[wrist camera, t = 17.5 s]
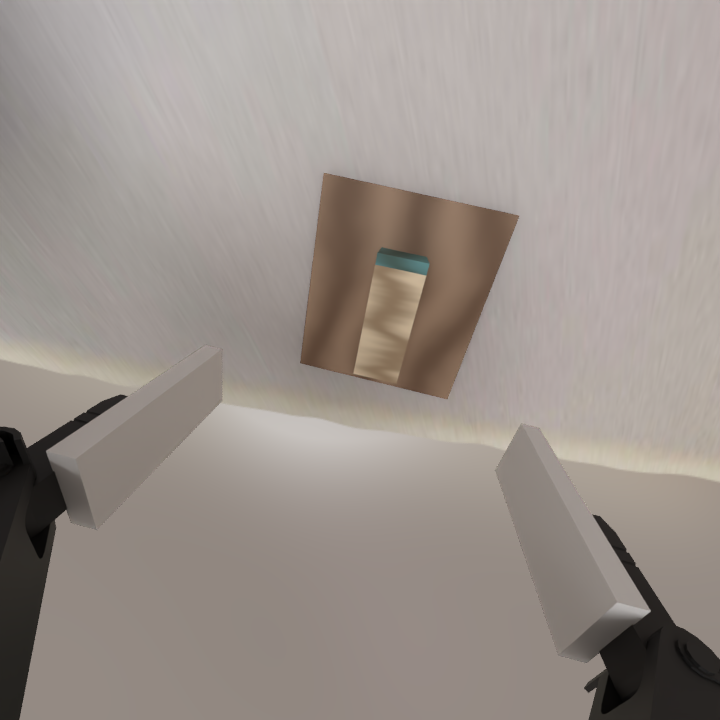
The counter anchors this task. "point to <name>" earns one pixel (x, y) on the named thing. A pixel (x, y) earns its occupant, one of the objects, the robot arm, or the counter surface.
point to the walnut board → (441, 287)
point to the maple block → (390, 313)
